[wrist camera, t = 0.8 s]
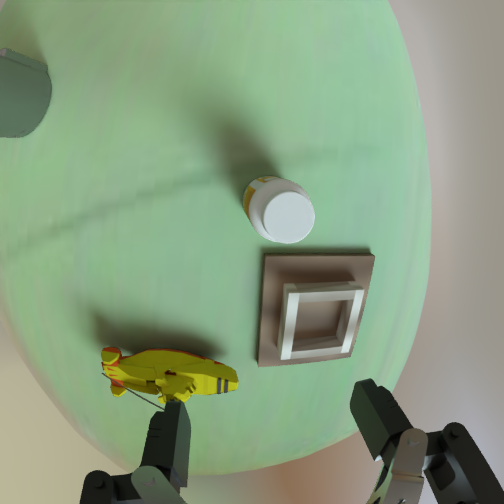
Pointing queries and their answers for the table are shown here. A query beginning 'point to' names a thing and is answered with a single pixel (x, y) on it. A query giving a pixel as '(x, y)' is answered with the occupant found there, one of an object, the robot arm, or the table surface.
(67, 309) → the table surface
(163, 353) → the toy boat
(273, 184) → the supplement bottle
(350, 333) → the jig board
